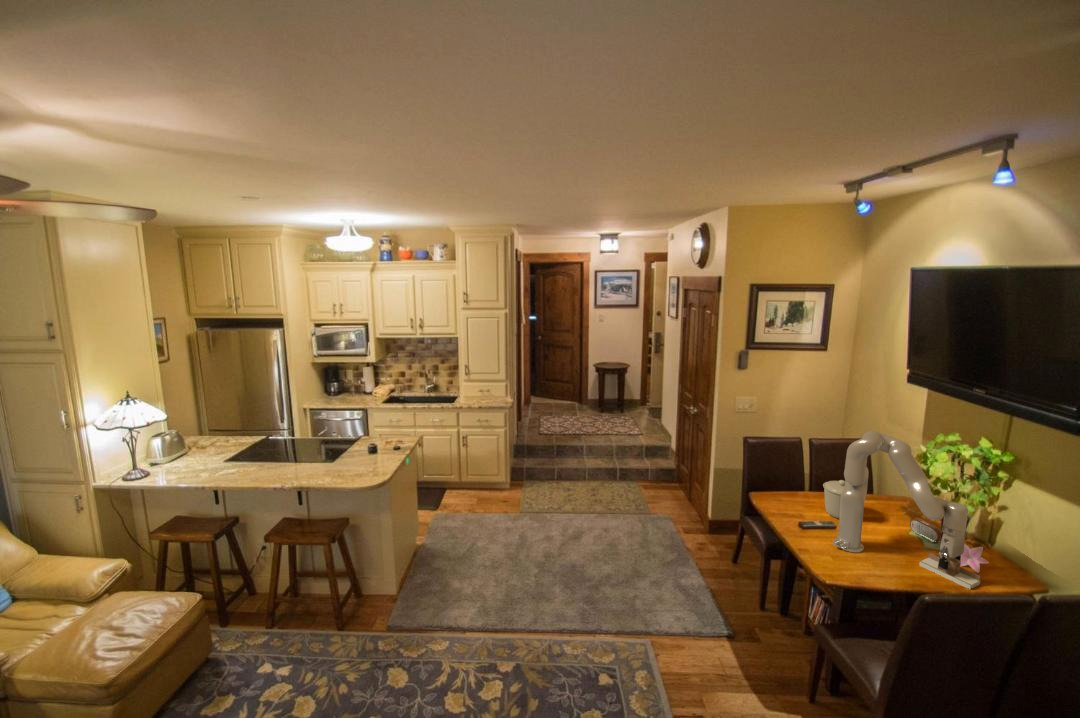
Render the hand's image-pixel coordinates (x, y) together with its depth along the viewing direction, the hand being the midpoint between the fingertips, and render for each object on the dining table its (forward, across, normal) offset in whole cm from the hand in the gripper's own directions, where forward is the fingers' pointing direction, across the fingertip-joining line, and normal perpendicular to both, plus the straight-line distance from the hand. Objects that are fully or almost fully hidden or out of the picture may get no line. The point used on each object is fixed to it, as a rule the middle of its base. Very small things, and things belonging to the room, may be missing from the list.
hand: (949, 565), depth 207 cm
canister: (+5, +10, +56) cm, 57 cm away
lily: (+5, +16, 0) cm, 17 cm away
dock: (+5, 0, 0) cm, 5 cm away
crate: (+3, 0, 0) cm, 3 cm away
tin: (+5, +26, +22) cm, 34 cm away
